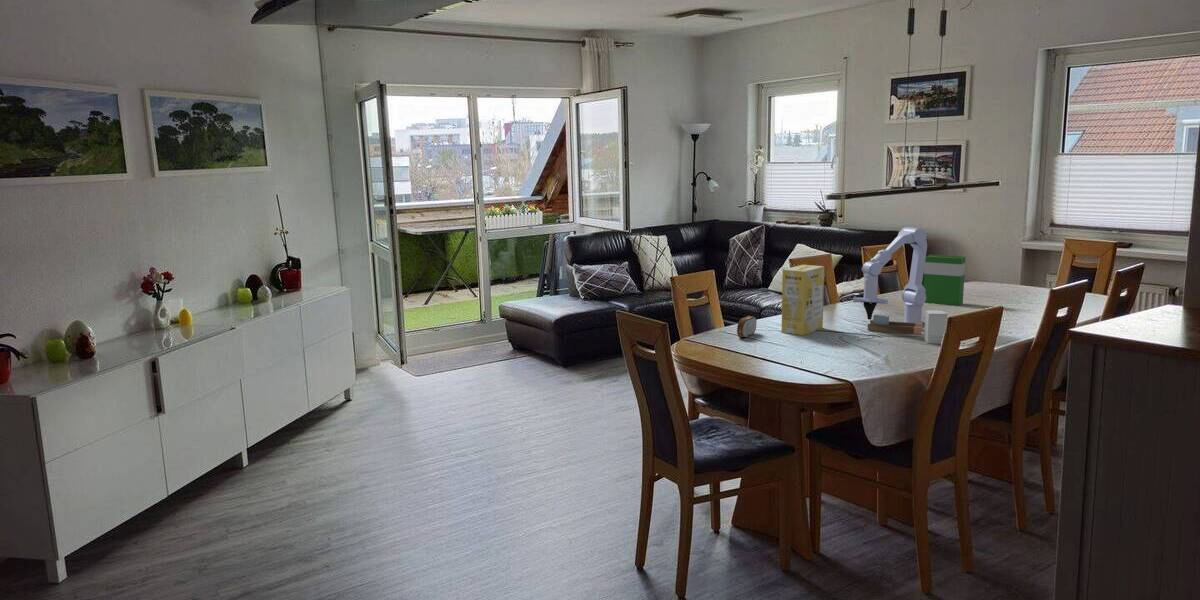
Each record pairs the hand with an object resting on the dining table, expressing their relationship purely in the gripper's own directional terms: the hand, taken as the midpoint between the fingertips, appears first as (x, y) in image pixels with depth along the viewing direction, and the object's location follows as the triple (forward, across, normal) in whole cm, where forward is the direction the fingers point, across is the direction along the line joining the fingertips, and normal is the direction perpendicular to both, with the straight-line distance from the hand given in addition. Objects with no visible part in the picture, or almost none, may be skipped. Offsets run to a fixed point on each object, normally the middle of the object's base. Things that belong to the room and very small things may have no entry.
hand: (869, 319), depth 360 cm
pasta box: (+5, -27, -12) cm, 30 cm away
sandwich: (+5, -47, -31) cm, 57 cm away
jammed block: (+4, +5, 0) cm, 6 cm away
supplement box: (+5, +28, -16) cm, 32 cm away
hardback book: (+5, +27, +72) cm, 77 cm away
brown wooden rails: (+4, +11, 0) cm, 12 cm away
